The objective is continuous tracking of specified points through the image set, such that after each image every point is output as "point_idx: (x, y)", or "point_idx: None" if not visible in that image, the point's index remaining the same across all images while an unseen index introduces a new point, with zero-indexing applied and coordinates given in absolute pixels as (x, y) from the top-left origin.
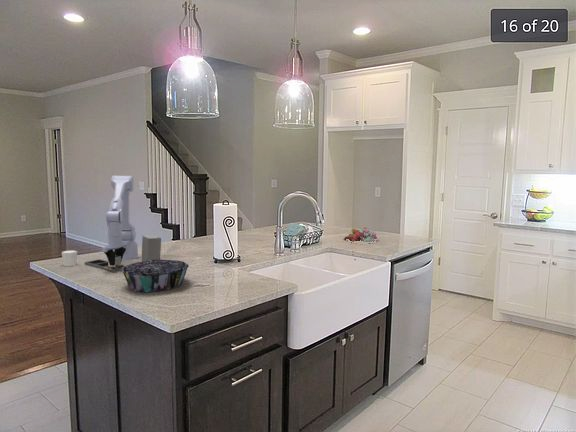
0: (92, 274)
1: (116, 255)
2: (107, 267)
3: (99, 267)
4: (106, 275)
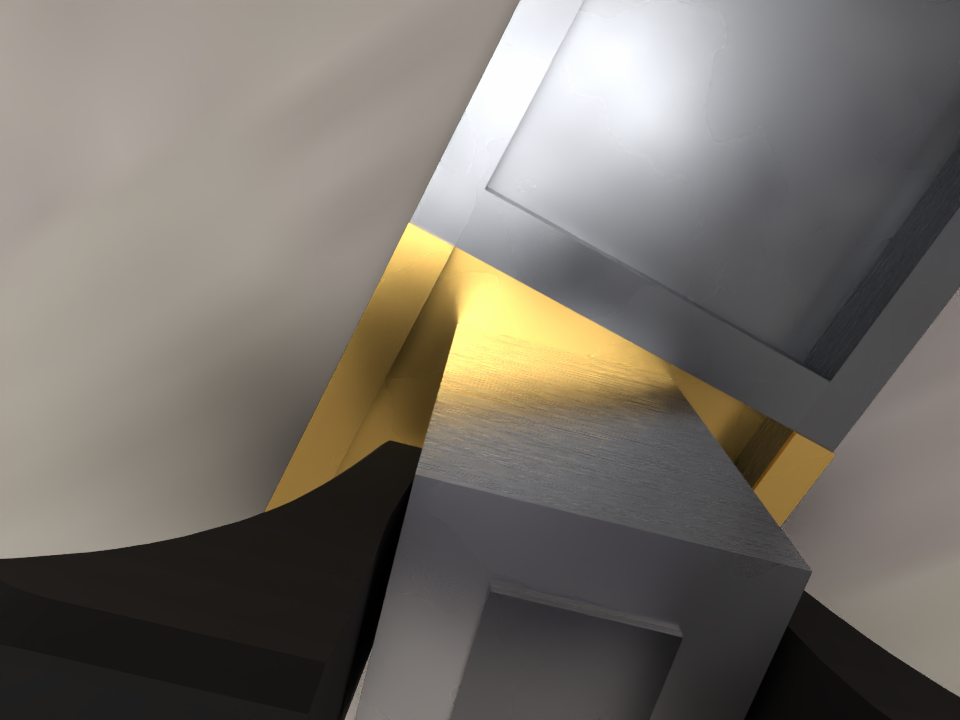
0: (5, 137)
1: (748, 686)
2: (394, 346)
3: (518, 15)
4: (55, 484)
